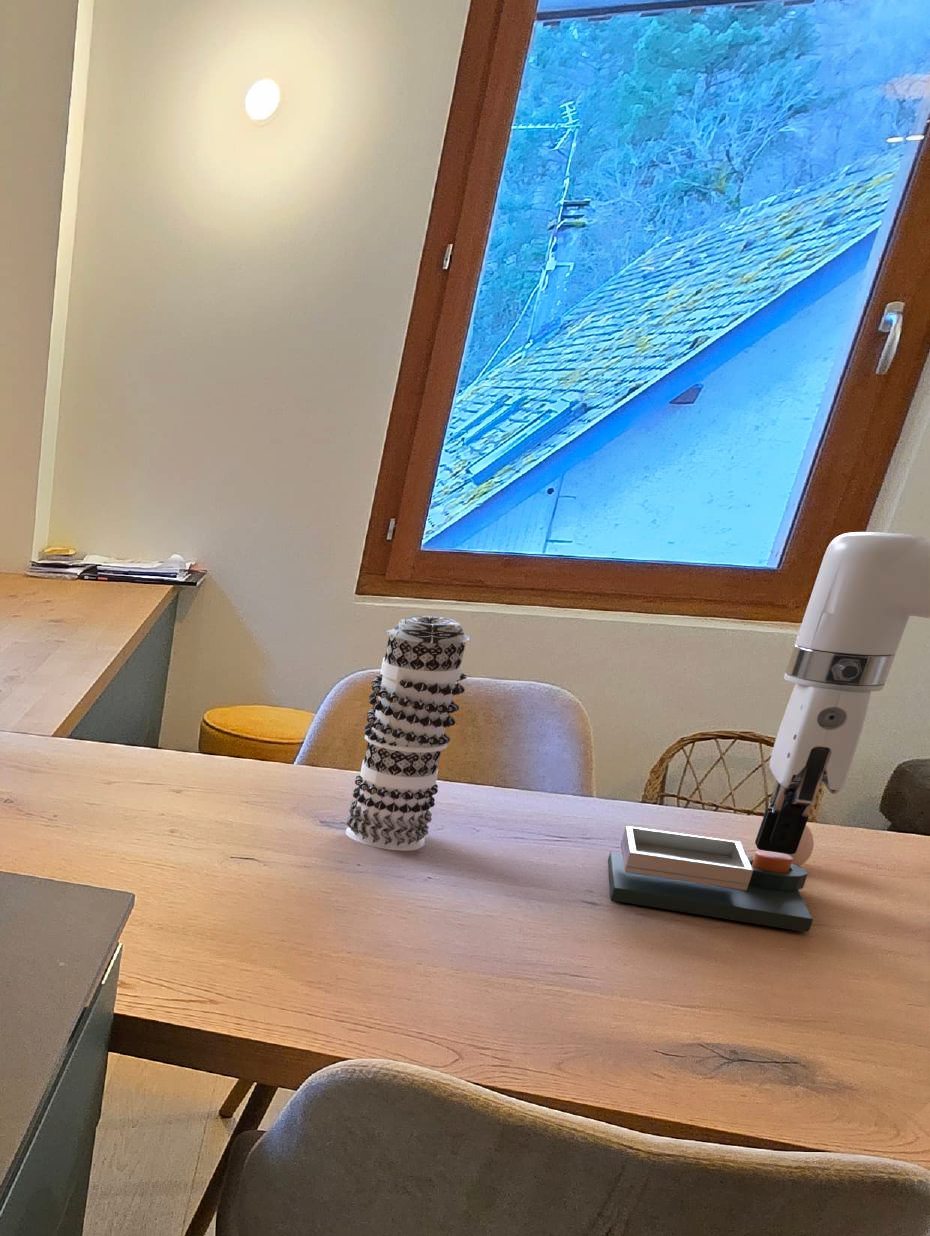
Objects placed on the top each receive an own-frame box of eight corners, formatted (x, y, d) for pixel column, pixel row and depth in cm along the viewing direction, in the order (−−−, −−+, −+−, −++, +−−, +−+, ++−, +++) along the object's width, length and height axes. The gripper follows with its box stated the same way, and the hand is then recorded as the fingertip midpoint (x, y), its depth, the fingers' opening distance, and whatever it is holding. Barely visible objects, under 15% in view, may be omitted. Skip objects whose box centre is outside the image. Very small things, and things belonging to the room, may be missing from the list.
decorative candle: (446, 843, 136) (499, 622, 125) (394, 860, 132) (443, 633, 121) (376, 819, 143) (420, 608, 132) (324, 834, 139) (365, 617, 128)
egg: (782, 879, 127) (801, 830, 125) (742, 864, 131) (759, 815, 128) (813, 874, 128) (832, 825, 126) (772, 859, 132) (790, 811, 130)
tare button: (785, 867, 122) (790, 853, 122) (790, 876, 120) (795, 862, 119) (749, 862, 124) (754, 848, 123) (753, 871, 121) (758, 856, 121)
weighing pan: (734, 860, 123) (741, 841, 122) (746, 890, 115) (753, 870, 114) (620, 844, 128) (625, 825, 127) (624, 872, 120) (630, 852, 119)
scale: (792, 890, 124) (802, 862, 123) (814, 933, 113) (825, 904, 112) (606, 862, 131) (614, 836, 130) (610, 900, 121) (618, 872, 120)
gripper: (905, 686, 106) (834, 879, 113) (871, 660, 118) (808, 836, 125) (800, 677, 110) (737, 864, 117) (777, 653, 122) (721, 824, 129)
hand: (774, 849), depth 121 cm, fingers closed
